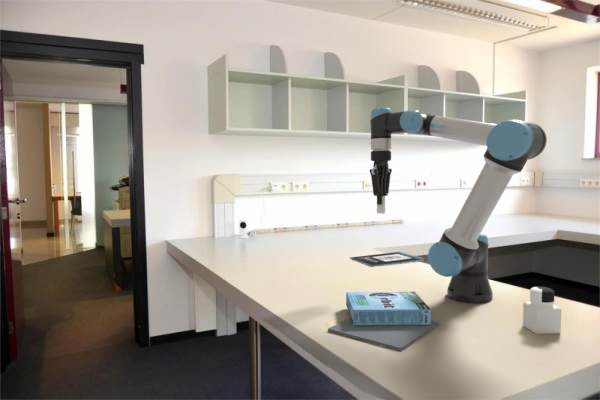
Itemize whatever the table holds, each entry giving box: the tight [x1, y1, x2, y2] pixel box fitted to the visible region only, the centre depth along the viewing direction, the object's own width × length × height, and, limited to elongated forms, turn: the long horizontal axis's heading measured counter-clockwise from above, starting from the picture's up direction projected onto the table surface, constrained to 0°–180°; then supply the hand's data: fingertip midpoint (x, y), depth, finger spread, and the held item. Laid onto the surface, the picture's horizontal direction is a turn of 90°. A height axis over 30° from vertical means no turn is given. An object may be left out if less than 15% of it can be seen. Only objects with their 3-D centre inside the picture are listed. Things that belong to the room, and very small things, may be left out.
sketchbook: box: [349, 250, 424, 268], centre depth 227 cm, size 22×30×2 cm
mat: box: [327, 317, 439, 352], centre depth 131 cm, size 23×24×1 cm
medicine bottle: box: [522, 286, 562, 335], centre depth 128 cm, size 7×7×12 cm
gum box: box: [345, 291, 432, 325], centre depth 140 cm, size 20×5×23 cm
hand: (381, 213), depth 170 cm, fingers closed
